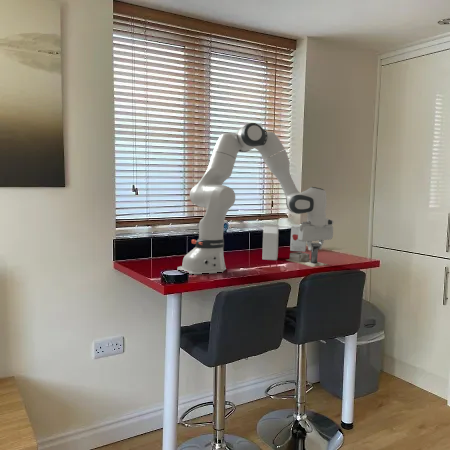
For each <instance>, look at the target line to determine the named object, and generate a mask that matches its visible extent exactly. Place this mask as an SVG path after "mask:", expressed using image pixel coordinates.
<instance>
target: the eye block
mask: <svg viewBox="0 0 450 450" xmlns="http://www.w3.org/2000/svg"><path fill="white" fill-rule="evenodd" d="M310 257H311V255H310V253H306V252H302V251H294V252H289V259H286V261H288V262H291V263H295V264H299V265H304V266H308V267H312V268H313V267H321V266H328V265H329V264H328V263H323V262H320V261H317V263H316V264H314V263H311V259H310Z"/></svg>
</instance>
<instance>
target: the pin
mask: <svg viewBox="0 0 450 450" xmlns="http://www.w3.org/2000/svg"><path fill="white" fill-rule="evenodd" d="M311 245H312V246H313V250H310V252H311V255H310V260H311V263H314V264H316V263H317V262H318V258H319V257H318V256H319V255H318V254H319V249H318V246H321V243H319V242H312V243H311Z"/></svg>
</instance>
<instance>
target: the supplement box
mask: <svg viewBox="0 0 450 450" xmlns="http://www.w3.org/2000/svg"><path fill="white" fill-rule="evenodd" d="M299 228H300V224H295V223H294V224H293V223H292V224H291V228H290V229H291V230H290V245H289V246H290V247H289V248H290V249H289V250H290V252H302V253H306V248H307V241H306V242H302V241H299V240H298V233H299Z"/></svg>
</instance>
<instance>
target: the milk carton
mask: <svg viewBox="0 0 450 450" xmlns="http://www.w3.org/2000/svg"><path fill="white" fill-rule="evenodd" d="M278 254H279V224H273V223H272V224H271V223H270V224H269V223H264V225H263V231H262V257H261V258H262V260H265V261H266V260H267V261H277V260H278V256H279V255H278Z"/></svg>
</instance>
